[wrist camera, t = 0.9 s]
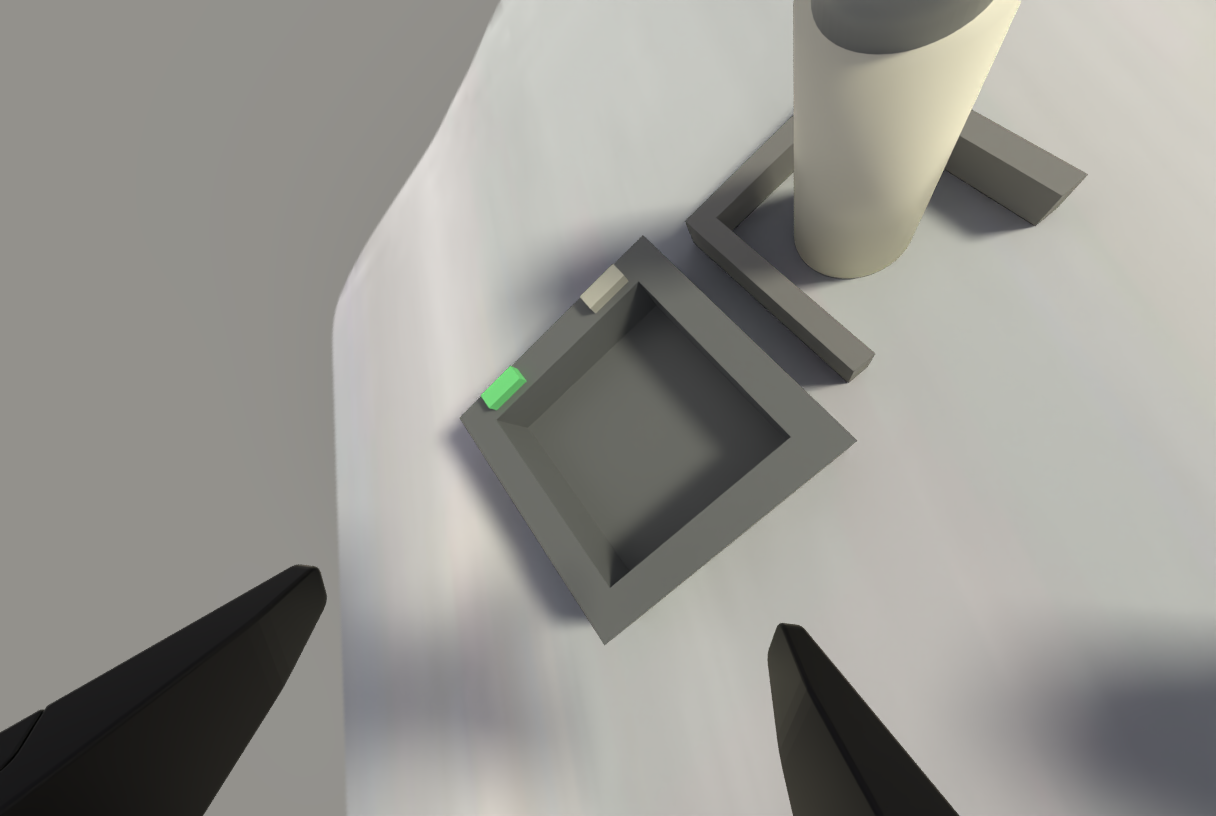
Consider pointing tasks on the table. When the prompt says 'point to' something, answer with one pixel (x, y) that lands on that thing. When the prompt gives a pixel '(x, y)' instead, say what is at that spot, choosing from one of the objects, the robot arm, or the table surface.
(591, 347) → the dock
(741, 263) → the grey u-shaped rail
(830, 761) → the robot arm
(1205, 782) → the table surface
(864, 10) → the plug
